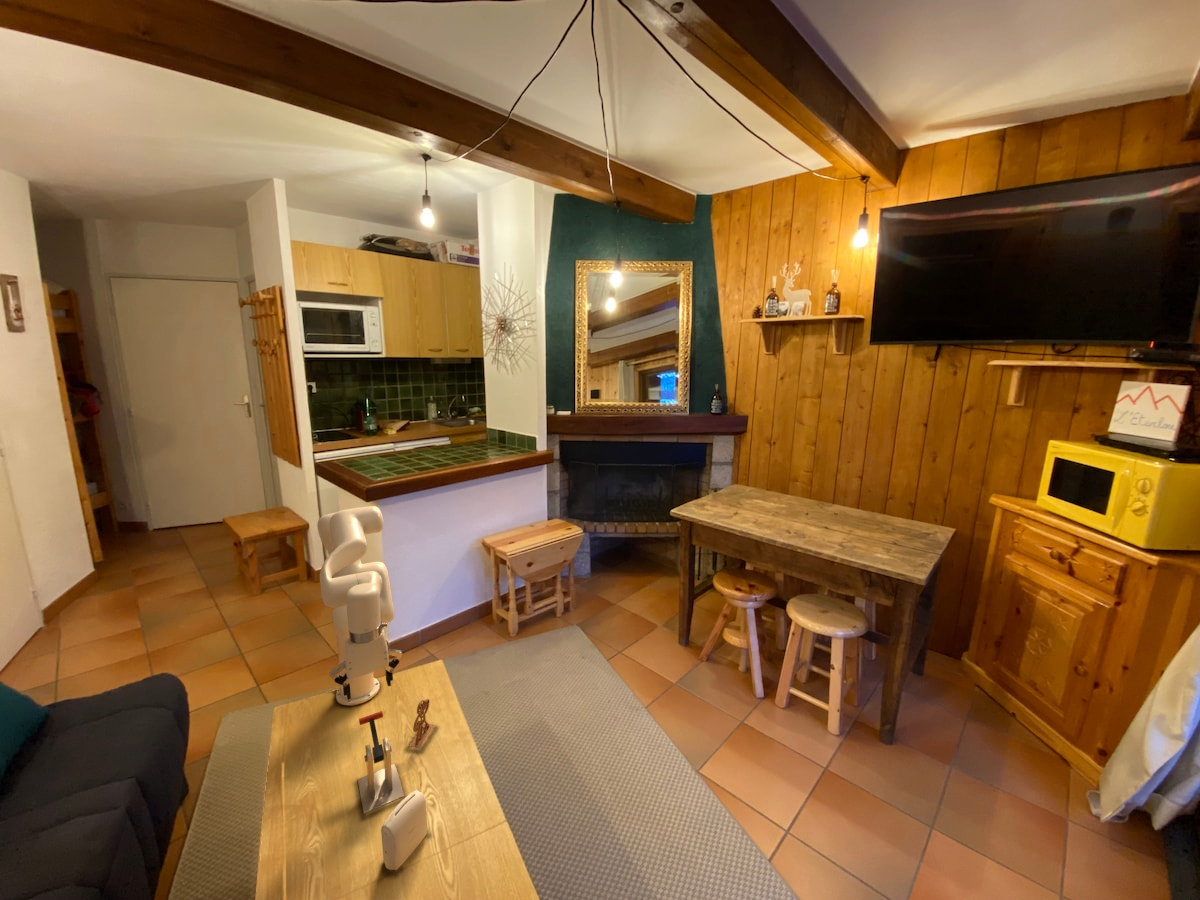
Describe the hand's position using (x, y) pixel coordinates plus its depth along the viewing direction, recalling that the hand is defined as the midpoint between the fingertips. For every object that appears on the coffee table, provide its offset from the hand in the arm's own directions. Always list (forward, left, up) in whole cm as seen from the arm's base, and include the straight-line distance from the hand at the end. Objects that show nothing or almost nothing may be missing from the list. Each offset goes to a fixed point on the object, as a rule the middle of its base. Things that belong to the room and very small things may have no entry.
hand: (368, 689), depth 126 cm
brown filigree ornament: (+6, +11, -21) cm, 25 cm away
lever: (+7, -3, -10) cm, 12 cm away
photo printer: (+29, -11, -21) cm, 37 cm away
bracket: (+11, -5, -21) cm, 24 cm away
